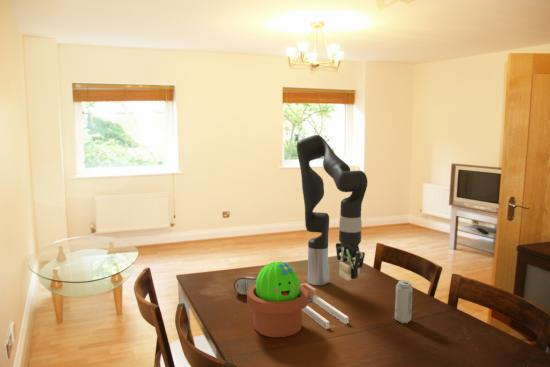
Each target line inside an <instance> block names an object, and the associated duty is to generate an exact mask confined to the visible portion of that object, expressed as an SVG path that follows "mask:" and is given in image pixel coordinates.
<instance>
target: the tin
mask: <svg viewBox="0 0 550 367" xmlns="http://www.w3.org/2000/svg"><path fill="white" fill-rule="evenodd" d="M257 277H258V275H247V274H243V275H239V276H237V277H236V278H235V280H234V282H233V289H234V291H235V292H236V293H237V294H239V295H241V296H247V290H248V288H249V287H251V286H252V285H254V284H256V280H257Z"/></svg>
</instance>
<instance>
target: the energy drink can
mask: <svg viewBox="0 0 550 367" xmlns="http://www.w3.org/2000/svg"><path fill="white" fill-rule="evenodd" d="M412 285H413V284H412V282H411V281H409V280H401V279H400V280H398V281H397V284H396V285H395V298H394V299H395V300H394V301H395V302H394V304H395V305H394V319H395V320H397V321H399V322H401V323H400V324H404V323H406V324H409V323H410V321H412V309H413V308H412V306H413V290H414V288H413V286H412ZM397 321H396V322H397ZM399 322H398V323H399ZM408 322H409V323H408Z"/></svg>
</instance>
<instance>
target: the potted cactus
mask: <svg viewBox="0 0 550 367" xmlns="http://www.w3.org/2000/svg"><path fill="white" fill-rule="evenodd" d="M258 272H259V273H257V274H258V275H257V276H258V277H257V280H256V284H254V285H252V286H251V287H249V288H248V290H247V295H246V302H247V304H248V306H249V307H250V308H251V309H253V327H254V329H255V331H256V332H257V333H259V334H260V335H262V336H265V337H268V338H285V337H290V336H293V335H296V334H297V333H298V332H300V330H301V329H302V323H303V322H302V321H303V320H302V316H303V313H302V312H303V311H302V309H304V308H305V307H306V306H307V305H308V304H309V302H308V291H307V289H306V288H305V287H304V286H302V285H301V284H302V283H300V280H299V277H298V273H296V270H295V269H293V266H290V264H289V263H288V262H285V261H279V260H278V261H274V260H273V262H270V263H268V264H266V265H265V266H263V267H262V268H261V270H258ZM308 306H309V305H308Z"/></svg>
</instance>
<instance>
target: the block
mask: <svg viewBox="0 0 550 367" xmlns="http://www.w3.org/2000/svg"><path fill="white" fill-rule="evenodd" d="M338 264H339V265H338V267H339V268H338V276H339V277H340V278H342V279H343V280H346V281H347V282H348V281H351V280H352V281H353V280H354V279H351V263H350V262H349V260H348V261H344V262H340V261H339V263H338ZM354 265H355V261H354ZM360 270H361V268H358V274H357V275H358V276H357V278H356V279H355V280H357V279H360Z"/></svg>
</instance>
